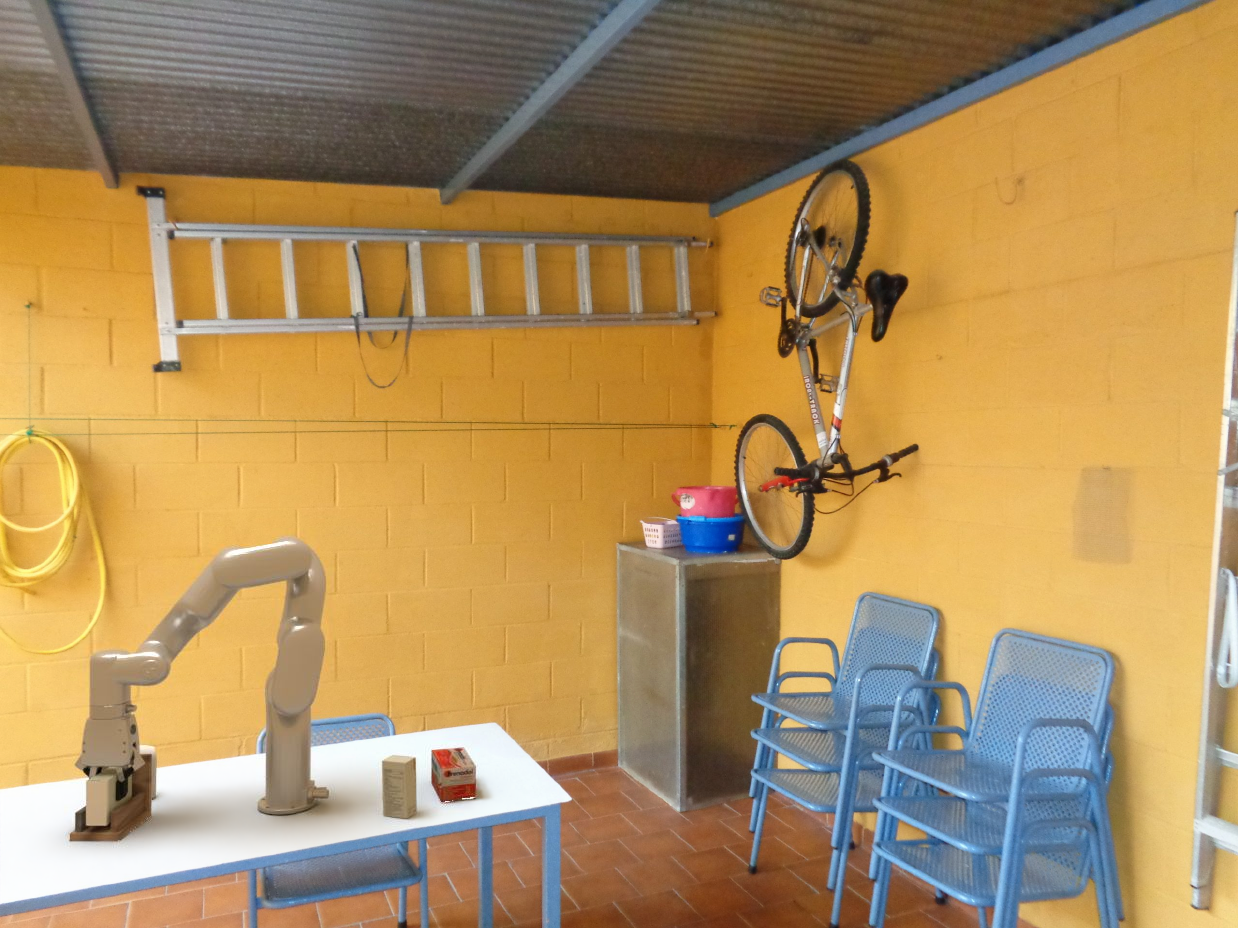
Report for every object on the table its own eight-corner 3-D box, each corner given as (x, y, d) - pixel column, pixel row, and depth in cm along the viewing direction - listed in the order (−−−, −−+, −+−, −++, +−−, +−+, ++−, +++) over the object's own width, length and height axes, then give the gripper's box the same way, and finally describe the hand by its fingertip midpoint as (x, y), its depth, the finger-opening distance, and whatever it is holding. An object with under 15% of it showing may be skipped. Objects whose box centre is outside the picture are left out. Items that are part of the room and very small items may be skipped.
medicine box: (476, 799, 211) (476, 765, 211) (441, 804, 208) (441, 769, 208) (463, 778, 225) (463, 745, 225) (429, 782, 223) (430, 749, 223)
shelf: (151, 816, 200) (151, 753, 200) (119, 840, 187) (119, 774, 187) (104, 815, 200) (105, 753, 200) (69, 840, 187) (70, 773, 187)
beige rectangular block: (132, 806, 197) (132, 764, 197) (106, 825, 187) (106, 781, 187) (112, 806, 197) (112, 764, 197) (85, 825, 187) (86, 780, 187)
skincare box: (417, 812, 203) (417, 756, 203) (406, 819, 199) (407, 762, 199) (392, 808, 205) (392, 753, 205) (381, 815, 201) (381, 759, 201)
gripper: (159, 705, 196) (159, 792, 196) (80, 705, 196) (79, 791, 196) (141, 715, 188) (141, 805, 189) (58, 715, 188) (58, 804, 188)
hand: (109, 797), depth 192 cm, fingers closed on beige rectangular block, 4 cm apart
